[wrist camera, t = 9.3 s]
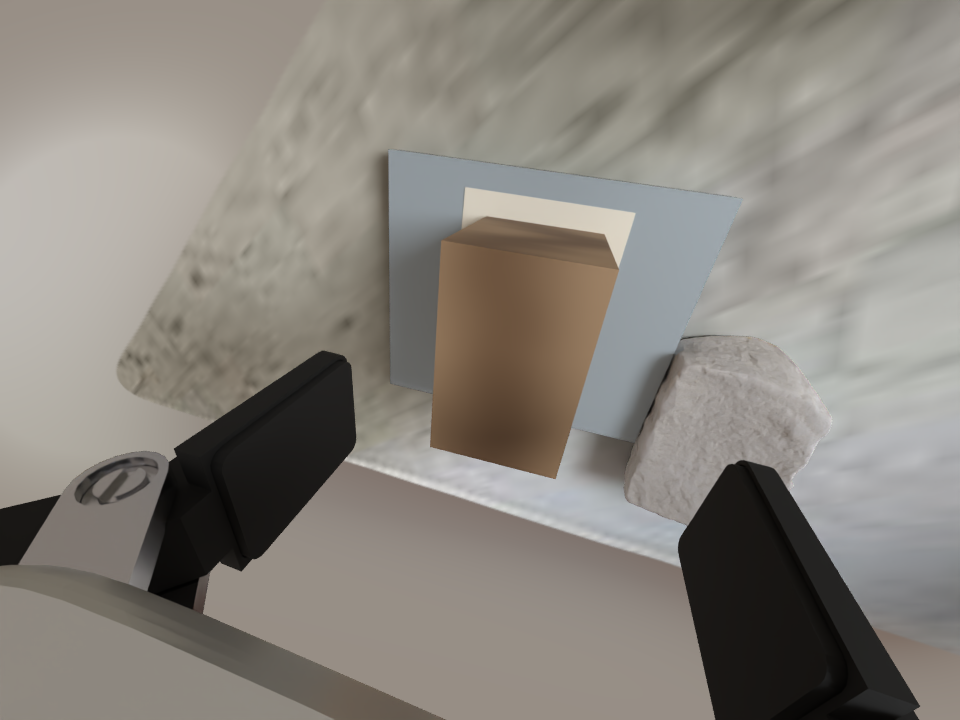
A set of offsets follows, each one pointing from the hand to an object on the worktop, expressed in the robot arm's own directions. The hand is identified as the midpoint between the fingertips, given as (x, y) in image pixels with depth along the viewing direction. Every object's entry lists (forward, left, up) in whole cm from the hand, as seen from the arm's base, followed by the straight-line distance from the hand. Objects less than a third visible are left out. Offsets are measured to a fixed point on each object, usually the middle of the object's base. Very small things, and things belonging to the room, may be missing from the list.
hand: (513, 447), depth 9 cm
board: (+1, 0, -10) cm, 10 cm away
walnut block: (+1, 0, -9) cm, 9 cm away
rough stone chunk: (-9, +4, -11) cm, 15 cm away
